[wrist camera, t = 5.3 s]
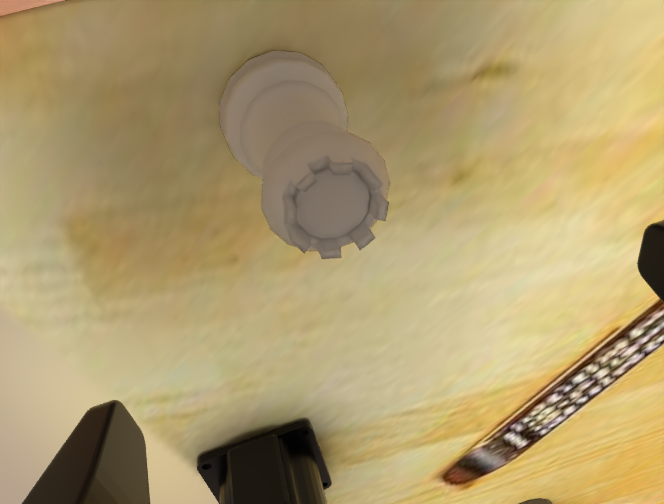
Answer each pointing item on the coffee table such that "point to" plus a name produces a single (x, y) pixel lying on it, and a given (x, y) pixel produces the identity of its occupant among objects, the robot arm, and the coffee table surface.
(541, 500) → the candle holder
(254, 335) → the coffee table surface
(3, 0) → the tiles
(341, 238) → the rook chess piece
